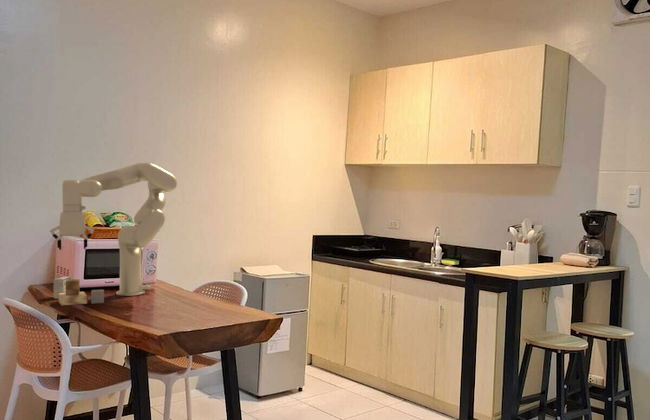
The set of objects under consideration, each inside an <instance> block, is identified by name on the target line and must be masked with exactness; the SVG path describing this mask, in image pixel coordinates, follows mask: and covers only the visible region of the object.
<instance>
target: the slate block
mask: <svg viewBox="0 0 650 420" xmlns="http://www.w3.org/2000/svg"><path fill="white" fill-rule="evenodd" d="M90 294H91V295H90V296H91V298H90V299H91V301H90V303H91V304H104V303H105V289H92V290H91V291H90Z"/></svg>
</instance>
